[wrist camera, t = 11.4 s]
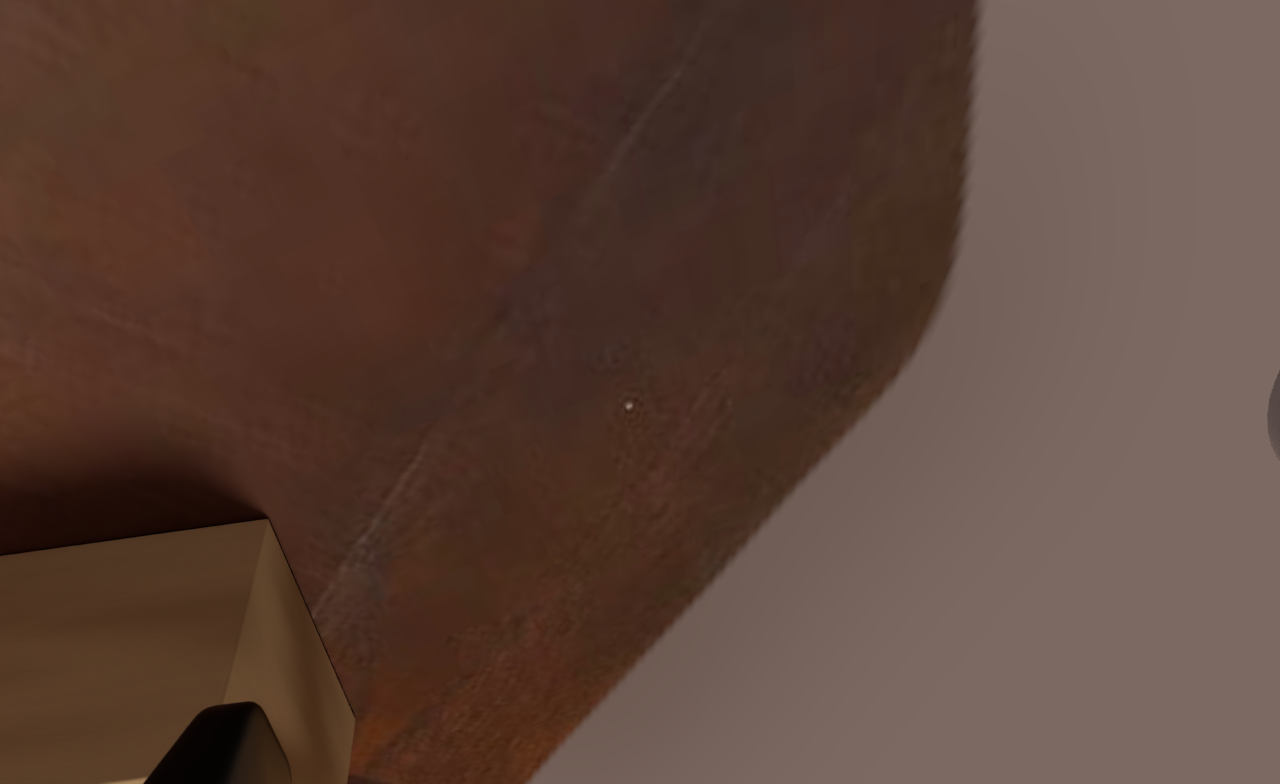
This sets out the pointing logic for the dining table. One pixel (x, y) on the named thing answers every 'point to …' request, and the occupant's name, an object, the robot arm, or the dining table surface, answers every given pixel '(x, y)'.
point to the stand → (159, 655)
